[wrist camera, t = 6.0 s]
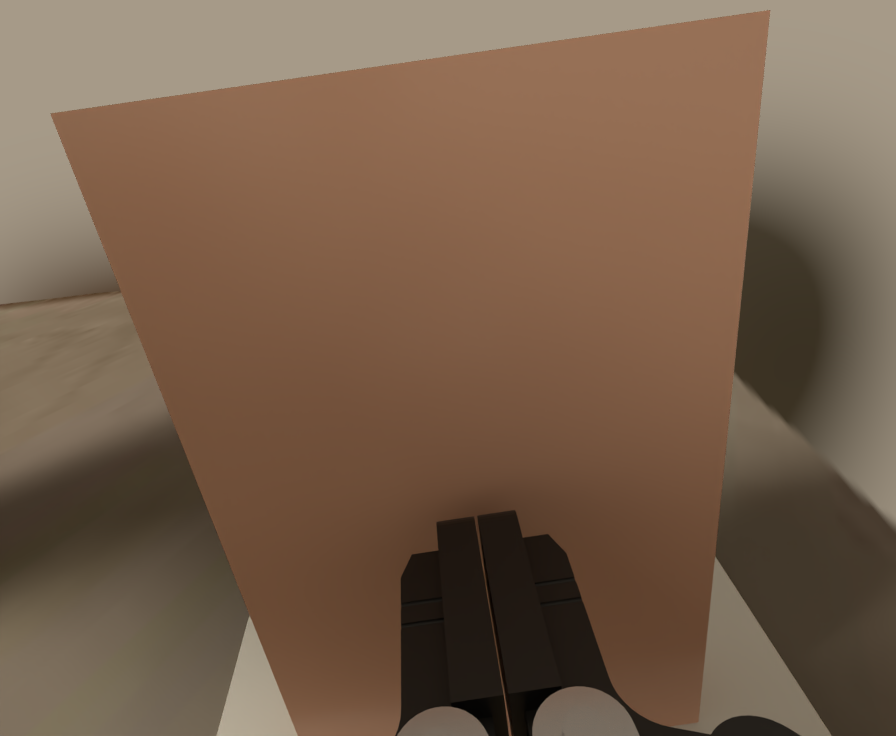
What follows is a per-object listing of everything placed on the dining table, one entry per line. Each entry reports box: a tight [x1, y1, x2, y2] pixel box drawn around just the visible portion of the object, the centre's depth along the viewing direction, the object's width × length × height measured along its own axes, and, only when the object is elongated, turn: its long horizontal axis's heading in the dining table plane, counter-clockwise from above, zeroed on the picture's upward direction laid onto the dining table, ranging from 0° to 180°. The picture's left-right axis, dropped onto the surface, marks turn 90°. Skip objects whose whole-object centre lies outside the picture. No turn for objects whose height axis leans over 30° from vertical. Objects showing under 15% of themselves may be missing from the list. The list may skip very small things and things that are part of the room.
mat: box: [217, 557, 832, 736], centre depth 24 cm, size 22×16×1 cm
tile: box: [51, 10, 770, 736], centre depth 13 cm, size 3×10×16 cm, turn 94°
